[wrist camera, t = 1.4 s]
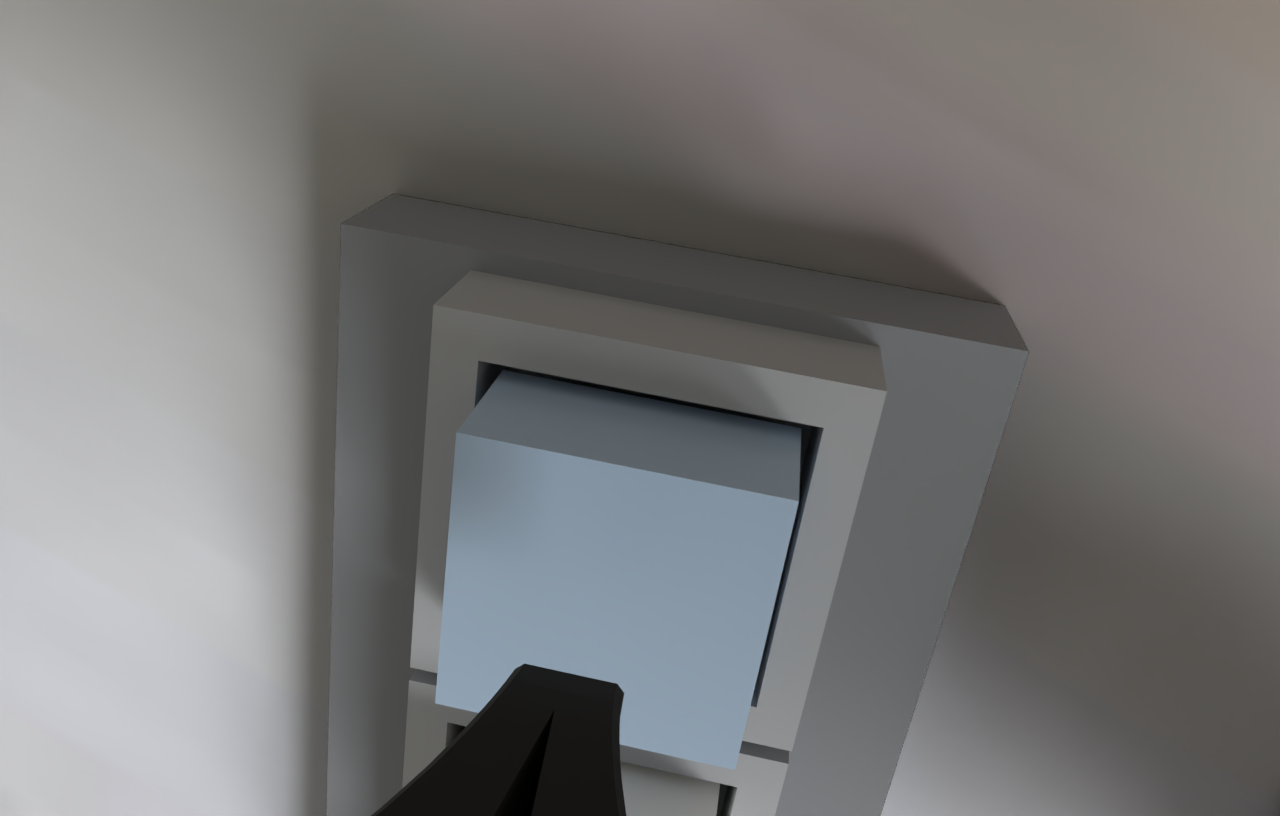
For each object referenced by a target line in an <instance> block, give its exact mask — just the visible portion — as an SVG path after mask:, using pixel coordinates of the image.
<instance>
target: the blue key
mask: <svg viewBox="0 0 1280 816" xmlns="http://www.w3.org/2000/svg"><path fill="white" fill-rule="evenodd" d="M800 454H801V428H798V427H792V426H787V425H782V424H777V423H772V422H767V421H762V420H757V419H751V418H746V417H741V416H736V415H731V414H726V413H721V412H716V411H710V410H705V409H700V408H695V407H690V406H685V405H680V404H675V403H669V402H664V401H659V400H654V399H649V398H644V397H639V396H634V395H628V394H623V393H618V392H613V391H608V390H603V389H598V388H593V387H588V386H582V385H577V384H572V383H567V382H562V381H557V380H552V379H547V378H541V377H536V376H531V375H526V374H521V373H516V372H511V371H506V370H503V371H502V372H501V373H500V375H499V376H498V377H497V379H496V380H495V381H494V383H493V384H492V385H491V387H490V388H489V389H488V391H487V392H486V393H485V395H484V396H483V398H482V399H481V400H480V402H479V403H478V404H477V406H476V407H475V408H474V410H473V411H472V412H471V414H470V415H469V416H468V418H467V419H466V420H465V422H464V423H463V424H462V426H461V427H460V428H459V430H458V431H457V432H456V443H455V456H454V469H453V481H452V494H451V507H450V520H449V532H448V545H447V558H446V571H445V583H444V596H443V609H442V622H441V634H440V647H439V660H438V673H437V685H436V698H435V703H436V704H441V705H445V706H450V707H454V708H459V709H463V710H467V711H472V712H476V713H479V712H480V711H481V710H482V709H483V708H484V707H485V705H486V704H487V703H488V702H489V701H490V700H491V699H492V697H493V696H494V695H495V694H496V693H497V691H498V690H499V689H500V688H501V686H502V685H503V684H504V683H505V682H506V680H507V679H508V678H509V676H510V675H511V674H512V672H513V671H514V670H515V669H516V668H517V667H519V666H521V665H523V664H529V665H534V666H538V667H543V668H547V669H552V670H557V671H561V672H566V673H570V674H575V675H579V676H584V677H589V678H593V679H598V680H602V681H607V682H612V683H616V684H618V685H619V687H620V688H621V689H622V691H623V692H624V698H623V704H622V710H621V716H620V745H625V746H629V747H633V748H638V749H642V750H647V751H651V752H656V753H660V754H665V755H669V756H674V757H678V758H683V759H687V760H692V761H696V762H701V763H705V764H710V765H714V766H719V767H723V768H728V769H732V770H735V769H736V765H737V760H738V756H739V752H740V748H741V743H742V739H743V735H744V731H745V727H746V722H747V718H748V714H749V710H750V706H751V701H752V697H753V693H754V689H755V684H756V680H757V676H758V672H759V668H760V663H761V659H762V655H763V651H764V647H765V642H766V638H767V634H768V630H769V626H770V621H771V617H772V613H773V609H774V604H775V600H776V596H777V592H778V588H779V583H780V579H781V575H782V571H783V567H784V562H785V558H786V554H787V550H788V545H789V541H790V537H791V533H792V529H793V524H794V520H795V516H796V512H797V508H798V503H799V485H800Z"/></svg>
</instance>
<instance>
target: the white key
mask: <svg viewBox="0 0 1280 816" xmlns="http://www.w3.org/2000/svg"><path fill="white" fill-rule="evenodd" d="M620 764H621V776H622V786H623V793H624V801H625V809H626V816H716V815H717V806H718V797H719V789H720V783H716V782H712V781H707V780H703V779H698V778H694V777H689V776H685V775H680V774H676V773H671V772H667V771H662V770H658V769H654V768H649V767H645V766H640V765H636V764H631V763H627V762H622V761H620Z"/></svg>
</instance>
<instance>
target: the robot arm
mask: <svg viewBox="0 0 1280 816" xmlns="http://www.w3.org/2000/svg"><path fill="white" fill-rule="evenodd" d="M623 698H624V692H623V691H622V689H621V688H620V687H619V685H618V684H616V683H612V682H607V681H602V680H598V679H593V678H589V677H584V676H579V675H575V674H570V673H566V672H561V671H557V670H552V669H547V668H543V667H538V666H534V665H529V664H523V665H521V666H519V667H517V668H516V669H515V670H514V671H513V672H512V674H511V675H510V676H509V678H508V679H507V680H506V682H505V683H504V684H503V685H502V686H501V688H500V689H499V690H498V691H497V693H496V694H495V695H494V696H493V697H492V699H491V700H490V701H489V702H488V703H487V704H486V705H485V707H484V708H483V709H482V710H481V711H480V712H479V713H478V714H477V715H476V717H475V718H474V719H473V720H472V721H471V722H470V723H469V724H468V725H467V726H466V727H465V729H464V730H463V731H462V732H461V733H460V734H459V735H458V736H457V737H456V738H455V739H454V740H453V741H452V742H451V743H450V744H449V745H448V746H447V747H446V748H445V749H444V750H443V751H442V752H441V753H440V754H439V755H438V756H437V757H436V758H435V759H434V760H433V761H432V762H431V763H430V764H429V765H428V766H427V767H426V768H425V769H423V770H422V771H421V772H420V773H419V774H418V775H417V776H416V777H415V778H414V779H412V780H411V781H410V782H409V783H408V784H407V785H406V786H405V787H403V788H402V789H401V790H400V791H399V792H398V793H397V794H396V795H394V796H393V797H392V798H391V799H390V800H389V801H388V802H387V803H385V804H384V805H383V806H382V807H381V808H380V809H379V810H377V811H376V812H375V813H374V814H372V815H371V816H626V809H625V801H624V793H623V786H622V776H621V764H620V716H621V710H622V704H623Z"/></svg>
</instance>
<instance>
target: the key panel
mask: <svg viewBox="0 0 1280 816" xmlns="http://www.w3.org/2000/svg"><path fill="white" fill-rule="evenodd" d="M1028 354H1029V350H1028V348H1027V347H1026V345H1025V343H1024V341H1023V339H1022V337H1021V335H1020V333H1019V332H1018V330H1017V328H1016V326H1015V324H1014V322H1013V320H1012V318H1011V316H1010V315H1009V313H1008V311H1007V309H1006V307H1005V306H1003V305H998V304H992V303H987V302H982V301H976V300H971V299H965V298H960V297H954V296H949V295H943V294H938V293H932V292H927V291H921V290H916V289H910V288H905V287H900V286H894V285H889V284H883V283H878V282H872V281H867V280H861V279H856V278H850V277H845V276H839V275H834V274H828V273H823V272H817V271H812V270H807V269H801V268H796V267H790V266H785V265H779V264H774V263H768V262H763V261H757V260H752V259H746V258H741V257H735V256H730V255H725V254H719V253H714V252H708V251H703V250H697V249H692V248H686V247H681V246H675V245H670V244H664V243H659V242H653V241H648V240H642V239H637V238H632V237H626V236H621V235H615V234H610V233H604V232H599V231H593V230H588V229H582V228H577V227H571V226H566V225H560V224H555V223H550V222H544V221H539V220H533V219H528V218H522V217H517V216H511V215H506V214H500V213H495V212H489V211H484V210H478V209H473V208H467V207H462V206H457V205H451V204H446V203H440V202H435V201H429V200H424V199H418V198H413V197H407V196H402V195H396V194H392V195H390V196H388V197H387V198H385V199H383V200H381V201H380V202H378V203H376V204H374V205H373V206H371V207H369V208H367V209H366V210H364V211H362V212H360V213H359V214H357V215H355V216H353V217H352V218H350V219H348V220H346V221H345V222H343V223H341V243H340V283H339V323H338V363H337V402H336V442H335V482H334V522H333V562H332V602H331V642H330V681H329V721H328V761H327V801H326V816H371V815H372V814H374V813H375V812H376V811H377V810H379V809H380V808H381V807H382V806H383V805H384V804H385V803H387V802H388V801H389V800H390V799H391V798H392V797H393V796H394V795H396V794H397V793H398V792H399V791H400V790H401V789H402V788H403V787H405V786H406V785H407V784H408V783H409V782H410V781H411V780H412V779H414V778H415V777H416V776H417V775H418V774H419V773H420V772H421V771H422V770H423V769H425V768H426V767H427V766H428V765H429V764H430V763H431V762H432V761H433V760H434V759H435V758H436V757H437V756H438V755H439V754H440V753H441V752H442V751H443V750H444V749H445V748H446V747H447V746H448V745H449V744H450V743H451V742H452V741H453V740H454V739H455V738H456V737H457V736H458V735H459V734H460V733H461V732H462V731H463V730H464V729H465V727H466V726H467V725H468V724H469V723H470V722H471V721H472V720H473V719H474V718H475V717H476V715H477V714H478V713H476V712H472V711H467V710H463V709H459V708H454V707H450V706H445V705H441V704H436V703H435V698H436V685H437V673H438V660H439V647H440V634H441V622H442V609H443V596H444V583H445V571H446V558H447V545H448V532H449V520H450V507H451V494H452V481H453V469H454V456H455V443H456V432H457V431H458V430H459V428H460V427H461V426H462V424H463V423H464V422H465V420H466V419H467V418H468V416H469V415H470V414H471V412H472V411H473V410H474V408H475V407H476V406H477V404H478V403H479V402H480V400H481V399H482V398H483V396H484V395H485V393H486V392H487V391H488V389H489V388H490V387H491V385H492V384H493V383H494V381H495V380H496V379H497V377H498V376H499V375H500V373H501V372H502V371H503V370H506V371H511V372H516V373H521V374H526V375H531V376H536V377H541V378H547V379H552V380H557V381H562V382H567V383H572V384H577V385H582V386H588V387H593V388H598V389H603V390H608V391H613V392H618V393H623V394H628V395H634V396H639V397H644V398H649V399H654V400H659V401H664V402H669V403H675V404H680V405H685V406H690V407H695V408H700V409H705V410H710V411H716V412H721V413H726V414H731V415H736V416H741V417H746V418H751V419H757V420H762V421H767V422H772V423H777V424H782V425H787V426H792V427H798V428H801V454H800V485H799V503H798V508H797V512H796V516H795V520H794V524H793V529H792V533H791V537H790V541H789V545H788V550H787V554H786V558H785V562H784V567H783V571H782V575H781V579H780V583H779V588H778V592H777V596H776V600H775V604H774V609H773V613H772V617H771V621H770V626H769V630H768V634H767V638H766V642H765V647H764V651H763V655H762V659H761V663H760V668H759V672H758V676H757V680H756V684H755V689H754V693H753V697H752V701H751V706H750V710H749V714H748V718H747V722H746V727H745V731H744V735H743V739H742V743H741V748H740V752H739V756H738V760H737V765H736V769H735V770H732V769H728V768H723V767H719V766H714V765H710V764H705V763H701V762H696V761H692V760H687V759H683V758H678V757H674V756H669V755H665V754H660V753H656V752H651V751H647V750H642V749H638V748H633V747H629V746H625V745H620V761H622V762H627V763H631V764H636V765H640V766H645V767H649V768H654V769H658V770H662V771H667V772H671V773H676V774H680V775H685V776H689V777H694V778H698V779H703V780H707V781H712V782H716V783H720V789H719V797H718V806H717V815H716V816H880V815H881V812H882V809H883V806H884V803H885V800H886V797H887V794H888V790H889V787H890V784H891V781H892V778H893V775H894V772H895V769H896V765H897V762H898V759H899V756H900V753H901V750H902V747H903V744H904V740H905V737H906V734H907V731H908V728H909V725H910V722H911V719H912V716H913V712H914V709H915V706H916V703H917V700H918V697H919V694H920V691H921V687H922V684H923V681H924V678H925V675H926V672H927V669H928V666H929V662H930V659H931V656H932V653H933V650H934V647H935V644H936V641H937V638H938V634H939V631H940V628H941V625H942V622H943V619H944V616H945V613H946V609H947V606H948V603H949V600H950V597H951V594H952V591H953V588H954V584H955V581H956V578H957V575H958V572H959V569H960V566H961V563H962V560H963V556H964V553H965V550H966V547H967V544H968V541H969V538H970V535H971V531H972V528H973V525H974V522H975V519H976V516H977V513H978V510H979V507H980V503H981V500H982V497H983V494H984V491H985V488H986V485H987V482H988V478H989V475H990V472H991V469H992V466H993V463H994V460H995V457H996V453H997V450H998V447H999V444H1000V441H1001V438H1002V435H1003V432H1004V429H1005V425H1006V422H1007V419H1008V416H1009V413H1010V410H1011V407H1012V404H1013V400H1014V397H1015V394H1016V391H1017V388H1018V385H1019V382H1020V379H1021V375H1022V372H1023V369H1024V366H1025V363H1026V360H1027V357H1028Z"/></svg>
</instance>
